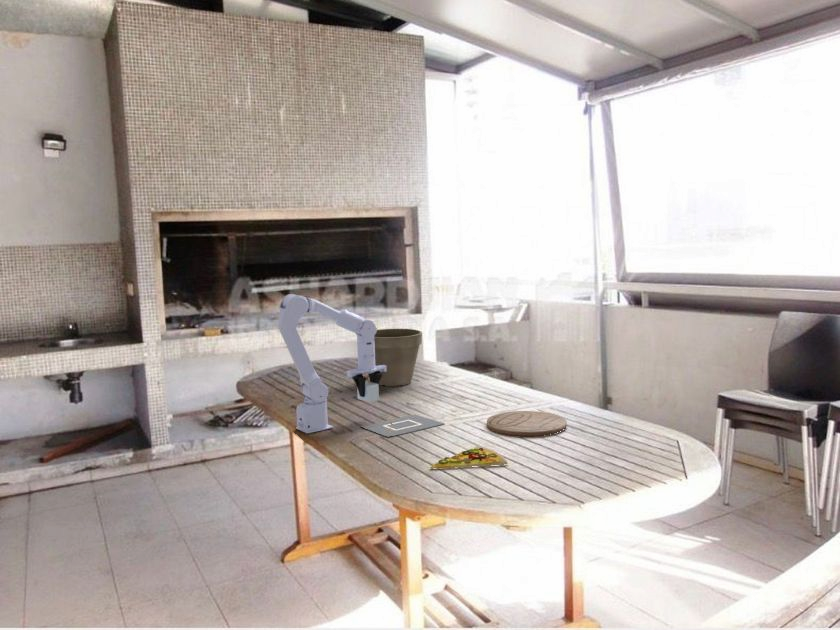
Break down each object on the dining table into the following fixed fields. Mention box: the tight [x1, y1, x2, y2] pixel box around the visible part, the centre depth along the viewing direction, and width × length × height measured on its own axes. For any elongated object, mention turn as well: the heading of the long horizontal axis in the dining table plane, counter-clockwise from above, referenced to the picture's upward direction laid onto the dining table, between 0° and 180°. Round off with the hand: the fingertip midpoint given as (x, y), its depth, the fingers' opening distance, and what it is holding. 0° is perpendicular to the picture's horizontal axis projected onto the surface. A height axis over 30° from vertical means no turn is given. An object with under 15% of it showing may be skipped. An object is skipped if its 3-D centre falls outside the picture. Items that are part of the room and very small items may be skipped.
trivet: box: [486, 410, 568, 438], centre depth 212 cm, size 25×25×2 cm
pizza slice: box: [429, 446, 509, 469], centre depth 178 cm, size 16×21×3 cm
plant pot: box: [374, 328, 423, 387], centre depth 282 cm, size 25×25×22 cm
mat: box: [360, 414, 445, 438], centre depth 217 cm, size 22×16×1 cm
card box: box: [356, 381, 380, 403], centre depth 224 cm, size 4×7×6 cm, turn 37°
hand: (368, 395), depth 224 cm, fingers closed on card box, 4 cm apart
